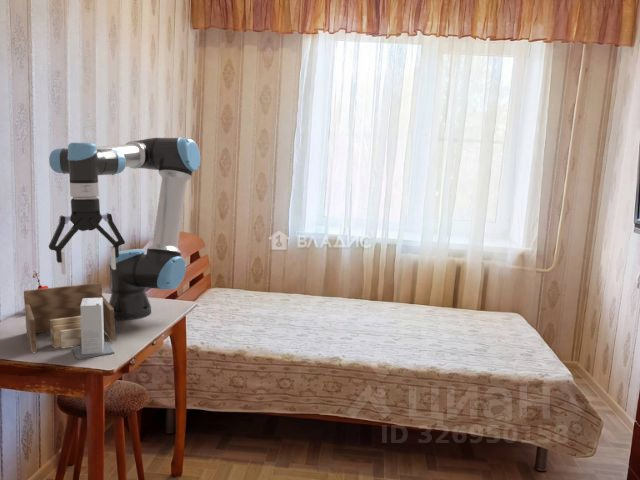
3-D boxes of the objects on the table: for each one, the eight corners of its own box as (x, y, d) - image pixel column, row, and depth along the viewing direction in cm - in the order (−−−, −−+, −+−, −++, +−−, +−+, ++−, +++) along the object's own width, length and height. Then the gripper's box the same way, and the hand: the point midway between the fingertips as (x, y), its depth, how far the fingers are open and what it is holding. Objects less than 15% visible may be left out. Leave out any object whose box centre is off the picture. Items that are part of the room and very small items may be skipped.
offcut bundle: (93, 338, 184) (91, 314, 183) (95, 343, 180) (94, 317, 179) (51, 345, 178) (49, 319, 177) (53, 349, 174) (51, 323, 173)
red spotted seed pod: (49, 313, 210) (47, 272, 208) (30, 313, 210) (27, 272, 208) (58, 307, 218) (56, 268, 216) (39, 307, 218) (36, 268, 215)
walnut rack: (102, 322, 200) (100, 282, 198) (115, 340, 183) (113, 296, 181) (26, 332, 189) (23, 290, 187) (32, 352, 171) (28, 306, 169)
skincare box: (84, 345, 176) (81, 297, 174) (105, 344, 178) (103, 296, 175) (81, 355, 168) (78, 305, 166) (104, 353, 170) (101, 303, 168)
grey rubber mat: (107, 343, 180) (107, 341, 180) (114, 353, 171) (114, 351, 171) (72, 348, 175) (72, 347, 175) (77, 359, 166) (77, 357, 166)
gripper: (37, 200, 156) (43, 278, 160) (133, 197, 169) (136, 269, 172) (34, 198, 163) (40, 273, 166) (127, 194, 175) (130, 264, 179)
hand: (89, 271), depth 169 cm, fingers open, 13 cm apart
